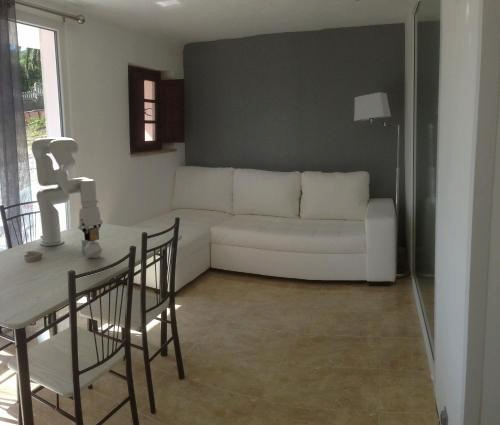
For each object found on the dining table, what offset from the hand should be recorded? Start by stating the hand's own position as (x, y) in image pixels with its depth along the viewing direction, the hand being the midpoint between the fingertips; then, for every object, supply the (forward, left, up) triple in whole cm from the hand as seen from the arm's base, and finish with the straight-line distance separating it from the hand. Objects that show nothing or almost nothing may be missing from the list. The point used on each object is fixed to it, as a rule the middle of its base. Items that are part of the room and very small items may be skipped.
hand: (91, 238), depth 245 cm
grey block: (-13, +8, -10) cm, 18 cm away
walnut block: (0, 0, 0) cm, 1 cm away
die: (0, 0, -10) cm, 10 cm away
